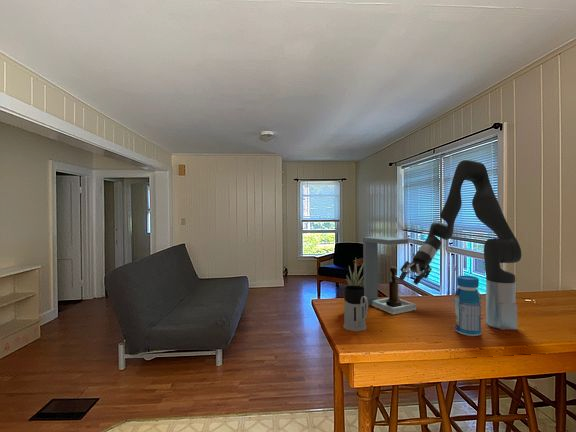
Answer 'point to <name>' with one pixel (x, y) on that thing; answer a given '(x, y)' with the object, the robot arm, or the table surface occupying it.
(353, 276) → the potted plant
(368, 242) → the overhang shelf
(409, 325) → the table surface
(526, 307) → the table surface
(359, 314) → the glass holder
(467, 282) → the beverage bottle
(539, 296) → the table surface
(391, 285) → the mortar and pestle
